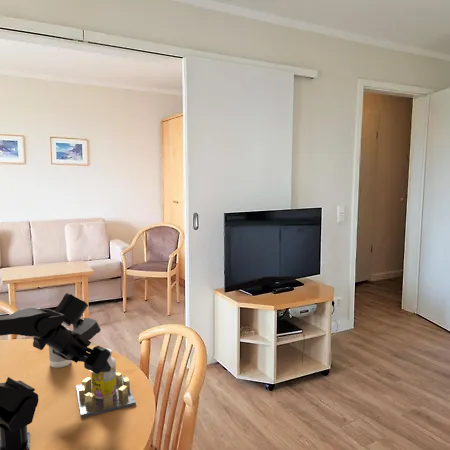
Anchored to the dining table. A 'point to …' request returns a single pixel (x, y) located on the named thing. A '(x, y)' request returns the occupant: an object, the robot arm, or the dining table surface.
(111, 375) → the supplement bottle
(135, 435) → the dining table surface
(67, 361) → the spray bottle
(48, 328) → the robot arm
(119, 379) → the grey tray with blocks
